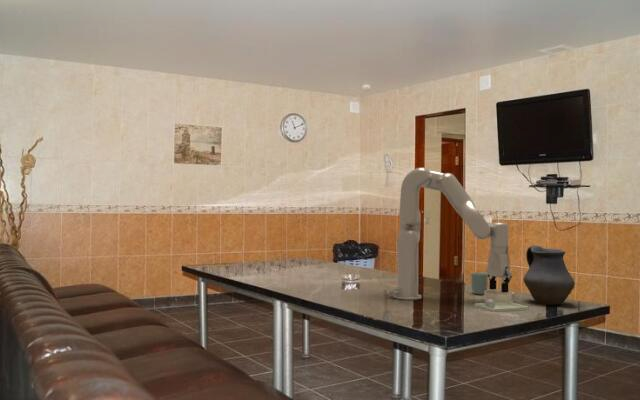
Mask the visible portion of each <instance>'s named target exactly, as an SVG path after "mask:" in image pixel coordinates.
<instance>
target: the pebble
mask: <svg viewBox="0 0 640 400" xmlns="http://www.w3.org/2000/svg"><path fill="white" fill-rule="evenodd" d="M484 303H485V305H486V307H489V308H494V307H495V301H494V300H493V299H488V300H486V302H485V301H484Z"/></svg>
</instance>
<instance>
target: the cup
mask: <svg viewBox="0 0 640 400" xmlns="http://www.w3.org/2000/svg"><path fill="white" fill-rule="evenodd" d="M470 276H471V277H470V287H471V288H470V289H471V291H472V293H473V294H475V295H481V296H482V295H483V296H484V291H486V290H488V286H489V285H488V284H489V277H488V274H487V272H478V271H474V272H471V273H470Z"/></svg>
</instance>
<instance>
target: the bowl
mask: <svg viewBox="0 0 640 400" xmlns="http://www.w3.org/2000/svg"><path fill="white" fill-rule="evenodd" d="M497 291H499V292H501V289H494V290H490V289H487V290H486V291H484V294H483V301H484V303H485V302H486V300H488V299H493V300H494V301H495V302H512V303H515V297H516V295H515V294H516V293H515V292H513V291H510V290H508V292H505V293H503V292H501V293H502V294H494V293H495V292H497Z"/></svg>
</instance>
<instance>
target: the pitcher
mask: <svg viewBox="0 0 640 400" xmlns="http://www.w3.org/2000/svg"><path fill="white" fill-rule="evenodd" d="M525 252H526V253H525V255H526V256H525V257H526V258H525V259H526V262H527V265H528V270H527V271H526V273H525V275H524V276H523V278H522V279H523V282H524V283H523V284H524V285H525V287H526V289H528V291H529V293H530V295H531V297H532V299H533V301H534V302H535V303H537V304H540V305H545V306H546V305H547V306H559V305H562V304H564V303H565V301H566V300H567V298H568V297H569V295H570V294H571V293H572V291H573V290H574V288H575V285H576V283H575V280H574V278H573V277H572V276H571V273H570V272H569V270H568V269H567V266H566V263H565V259H564V256H565V254H566V251H565V250H562V249H558V248H556V249H554V248H544V247H542V246H539V245H535V244H534V245H531V246H529V247H527V249H526V251H525Z"/></svg>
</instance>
